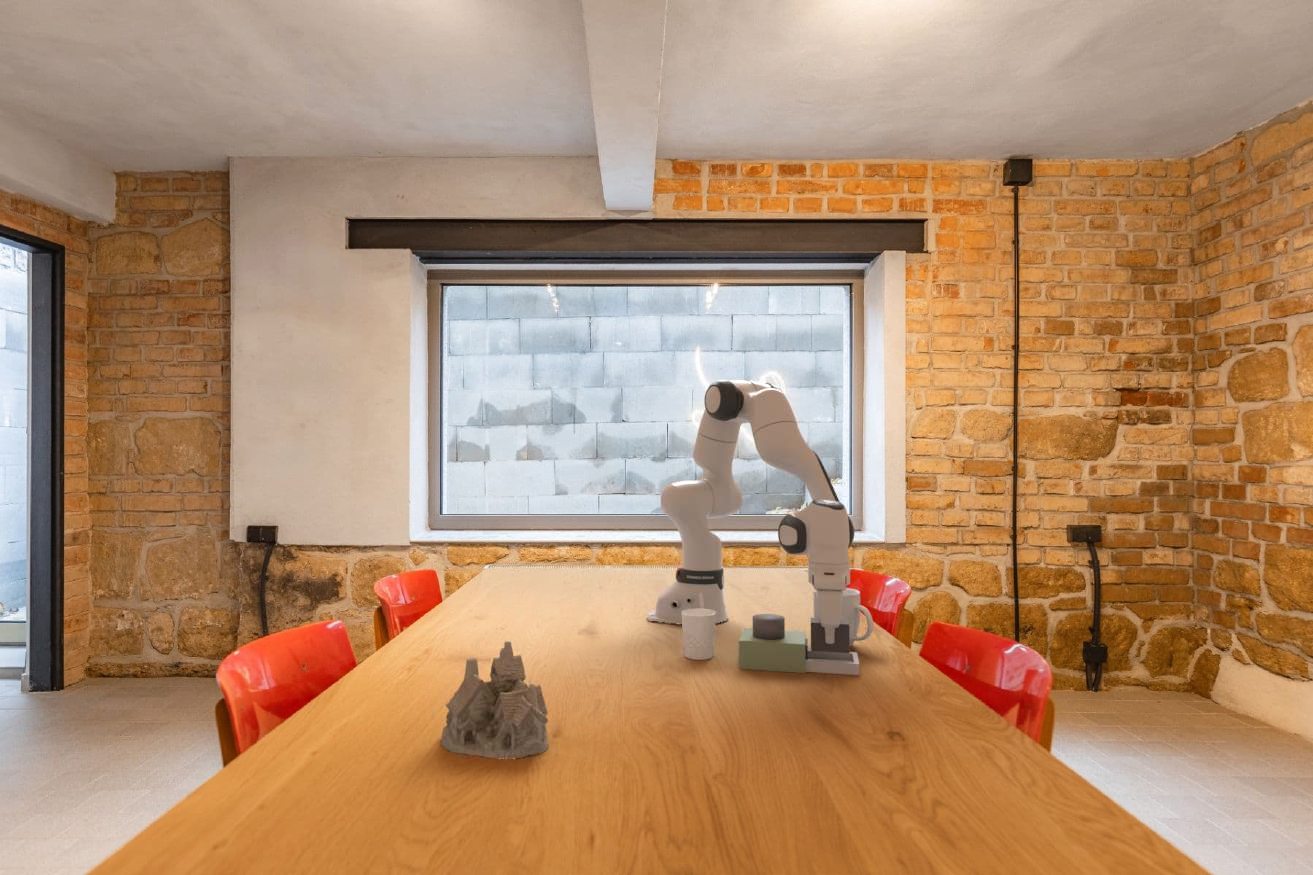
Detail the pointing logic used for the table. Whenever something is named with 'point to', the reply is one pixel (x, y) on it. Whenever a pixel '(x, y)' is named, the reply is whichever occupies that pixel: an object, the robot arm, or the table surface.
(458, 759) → the table surface
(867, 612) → the mug
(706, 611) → the white cup
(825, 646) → the tall grey rectangular block
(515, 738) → the ceramic cottage
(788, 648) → the green box with dome
